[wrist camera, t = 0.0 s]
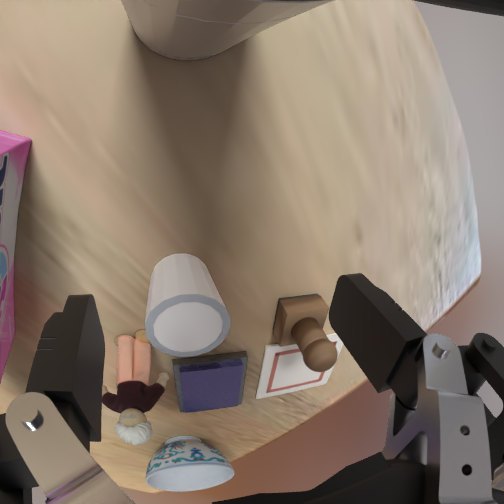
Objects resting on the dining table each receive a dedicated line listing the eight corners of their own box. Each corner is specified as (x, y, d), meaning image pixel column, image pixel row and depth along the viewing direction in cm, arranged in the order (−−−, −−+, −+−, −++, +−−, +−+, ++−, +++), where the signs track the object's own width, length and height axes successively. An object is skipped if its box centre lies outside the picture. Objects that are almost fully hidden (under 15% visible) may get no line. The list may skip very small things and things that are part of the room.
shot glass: (227, 285, 31) (245, 333, 25) (170, 316, 31) (177, 368, 25) (192, 233, 27) (203, 279, 21) (130, 271, 27) (126, 322, 21)
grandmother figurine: (151, 318, 30) (160, 425, 20) (168, 340, 32) (183, 442, 22) (93, 341, 30) (86, 443, 19) (112, 361, 32) (113, 458, 21)
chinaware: (131, 429, 40) (135, 471, 34) (222, 418, 44) (234, 459, 38) (151, 460, 48) (156, 494, 41) (225, 451, 52) (234, 483, 45)
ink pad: (172, 359, 34) (173, 369, 33) (245, 351, 37) (249, 360, 35) (179, 406, 39) (180, 415, 38) (239, 398, 42) (242, 407, 41)
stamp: (278, 297, 34) (310, 356, 26) (318, 292, 35) (356, 345, 28) (272, 330, 36) (299, 387, 29) (309, 324, 38) (341, 377, 30)
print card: (265, 345, 37) (266, 347, 37) (347, 330, 41) (348, 332, 40) (255, 397, 43) (256, 399, 43) (325, 382, 46) (326, 384, 46)
